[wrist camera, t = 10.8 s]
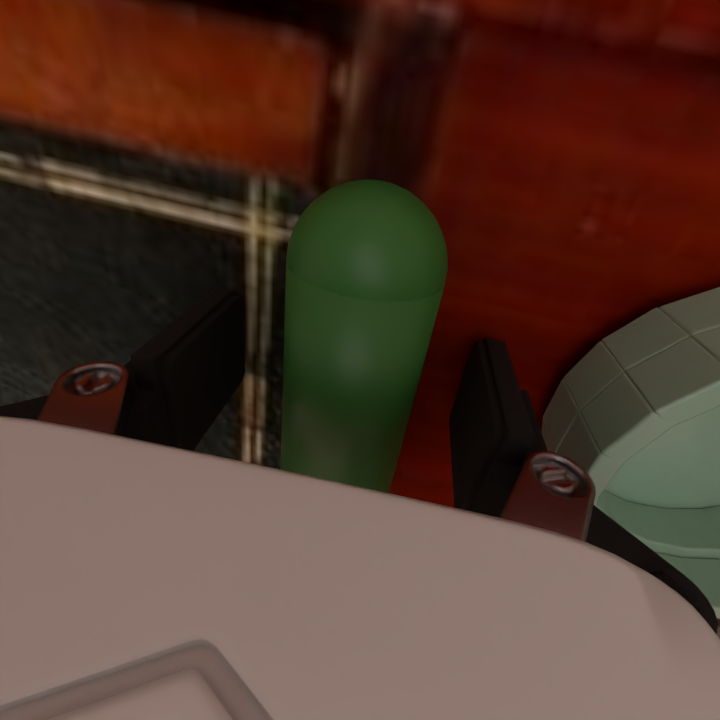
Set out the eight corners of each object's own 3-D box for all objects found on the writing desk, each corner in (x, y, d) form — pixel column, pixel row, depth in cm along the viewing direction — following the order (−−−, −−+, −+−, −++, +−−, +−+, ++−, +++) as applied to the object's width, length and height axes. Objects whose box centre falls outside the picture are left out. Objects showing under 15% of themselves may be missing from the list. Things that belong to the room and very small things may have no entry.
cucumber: (309, 157, 9) (265, 180, 6) (457, 181, 9) (482, 215, 6) (293, 459, 15) (266, 546, 12) (384, 475, 15) (379, 565, 12)
